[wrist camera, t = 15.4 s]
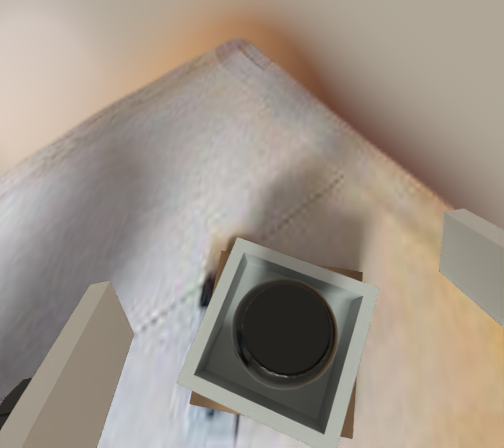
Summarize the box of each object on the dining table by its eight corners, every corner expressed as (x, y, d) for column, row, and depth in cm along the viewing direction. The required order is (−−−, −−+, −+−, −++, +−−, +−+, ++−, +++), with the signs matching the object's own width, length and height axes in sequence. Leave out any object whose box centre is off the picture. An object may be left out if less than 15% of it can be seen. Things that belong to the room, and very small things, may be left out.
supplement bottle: (319, 380, 26) (353, 413, 15) (237, 371, 27) (212, 396, 16) (320, 296, 29) (352, 270, 17) (245, 290, 29) (228, 260, 18)
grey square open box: (193, 374, 29) (176, 383, 23) (243, 252, 32) (237, 236, 27) (322, 433, 26) (334, 457, 21) (361, 296, 30) (379, 288, 25)
